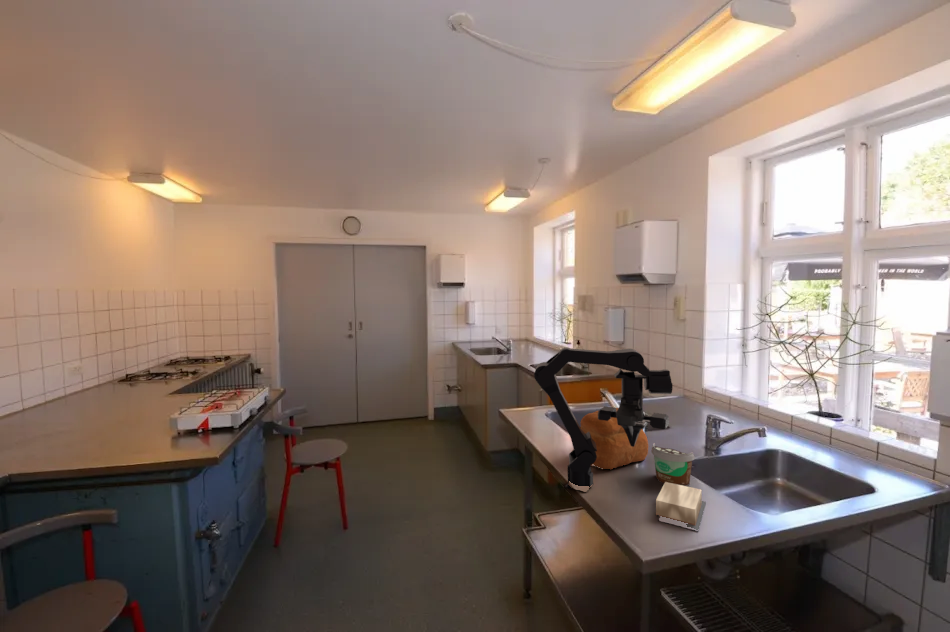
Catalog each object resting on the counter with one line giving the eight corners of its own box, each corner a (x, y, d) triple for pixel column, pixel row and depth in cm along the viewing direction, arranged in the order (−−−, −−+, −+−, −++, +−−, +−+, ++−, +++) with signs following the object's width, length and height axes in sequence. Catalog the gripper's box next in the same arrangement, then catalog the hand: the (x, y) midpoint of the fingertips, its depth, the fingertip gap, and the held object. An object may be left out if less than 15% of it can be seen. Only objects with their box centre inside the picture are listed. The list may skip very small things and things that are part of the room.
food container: (644, 480, 128) (644, 448, 127) (652, 473, 132) (652, 442, 132) (687, 492, 119) (687, 458, 119) (694, 485, 123) (694, 452, 123)
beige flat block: (656, 500, 107) (695, 509, 102) (665, 481, 117) (701, 489, 112) (656, 515, 107) (695, 525, 102) (665, 495, 117) (701, 504, 112)
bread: (570, 456, 148) (569, 410, 147) (615, 445, 157) (615, 401, 156) (606, 475, 132) (605, 423, 131) (654, 461, 141) (653, 412, 140)
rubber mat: (657, 521, 105) (657, 519, 105) (669, 494, 118) (669, 493, 118) (698, 532, 100) (698, 530, 100) (705, 503, 113) (705, 501, 113)
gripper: (590, 395, 119) (591, 449, 120) (661, 403, 108) (661, 462, 109) (603, 387, 128) (604, 437, 129) (669, 394, 118) (669, 448, 118)
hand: (632, 446), depth 121 cm, fingers closed
